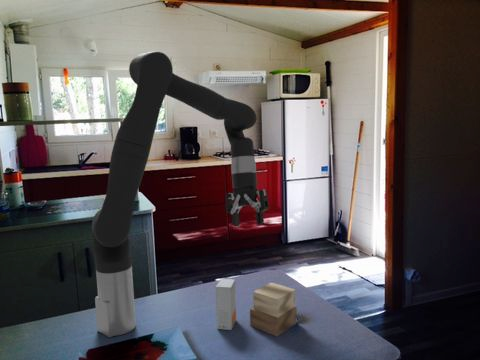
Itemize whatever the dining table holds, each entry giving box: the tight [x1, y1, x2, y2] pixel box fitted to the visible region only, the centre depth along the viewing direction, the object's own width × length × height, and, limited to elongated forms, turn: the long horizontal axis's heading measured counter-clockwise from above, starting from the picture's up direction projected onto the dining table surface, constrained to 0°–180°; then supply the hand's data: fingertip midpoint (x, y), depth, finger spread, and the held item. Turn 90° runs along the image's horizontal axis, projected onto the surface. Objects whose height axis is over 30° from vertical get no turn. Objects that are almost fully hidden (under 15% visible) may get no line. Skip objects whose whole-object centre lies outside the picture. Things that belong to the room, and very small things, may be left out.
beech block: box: [252, 282, 296, 318], centre depth 112 cm, size 8×8×5 cm
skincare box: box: [215, 278, 237, 331], centre depth 113 cm, size 6×4×12 cm
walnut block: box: [249, 305, 298, 337], centre depth 112 cm, size 9×9×5 cm
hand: (248, 225), depth 124 cm, fingers open, 8 cm apart
